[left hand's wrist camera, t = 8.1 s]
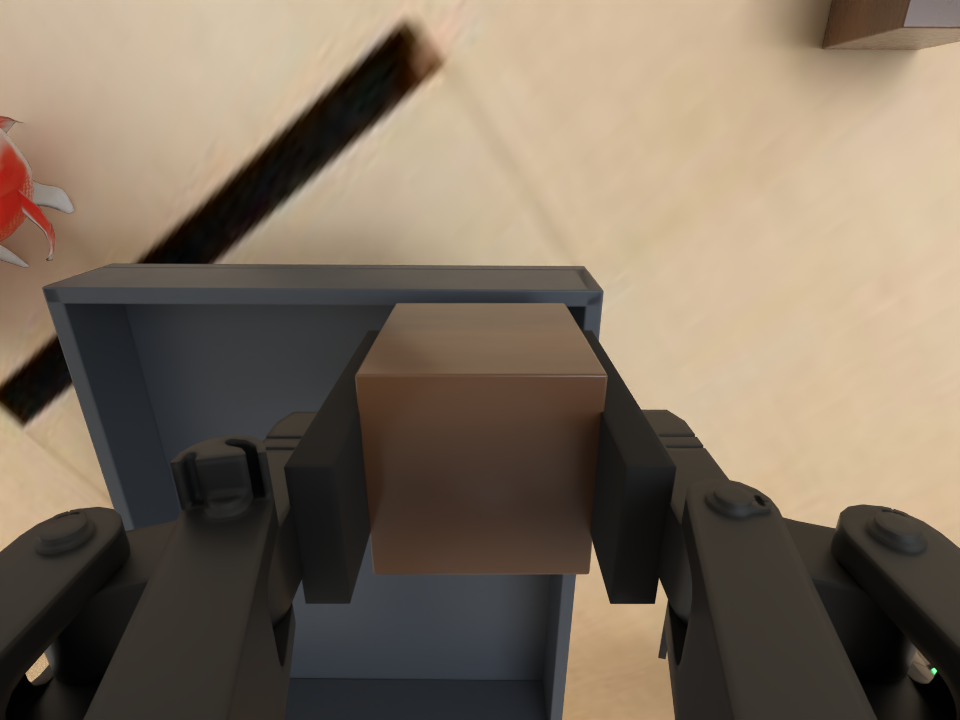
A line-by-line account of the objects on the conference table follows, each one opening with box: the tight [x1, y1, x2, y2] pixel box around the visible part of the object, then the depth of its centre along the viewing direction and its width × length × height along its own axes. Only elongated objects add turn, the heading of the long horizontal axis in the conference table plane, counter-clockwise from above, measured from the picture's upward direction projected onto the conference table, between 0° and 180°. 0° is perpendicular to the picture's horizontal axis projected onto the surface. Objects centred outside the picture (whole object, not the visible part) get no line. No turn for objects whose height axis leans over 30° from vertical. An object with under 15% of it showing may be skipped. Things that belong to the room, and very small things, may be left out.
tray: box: [42, 264, 603, 720], centre depth 18 cm, size 25×16×10 cm, turn 0°
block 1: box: [355, 303, 607, 574], centre depth 12 cm, size 4×4×5 cm
